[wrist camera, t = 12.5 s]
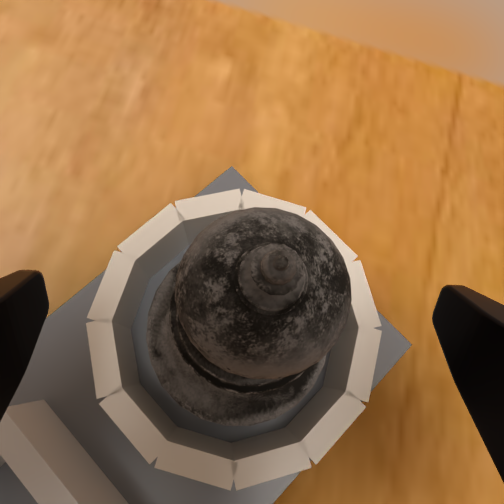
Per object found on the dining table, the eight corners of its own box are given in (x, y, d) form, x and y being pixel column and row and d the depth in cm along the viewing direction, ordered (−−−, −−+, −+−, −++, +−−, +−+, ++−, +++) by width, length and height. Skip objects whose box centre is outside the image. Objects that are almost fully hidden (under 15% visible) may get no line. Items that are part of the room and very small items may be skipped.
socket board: (6, 796, 13) (-81, 972, 9) (-183, 516, 14) (-321, 568, 11) (403, 345, 18) (452, 340, 14) (231, 174, 19) (234, 129, 15)
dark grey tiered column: (176, 254, 17) (94, 19, 5) (312, 276, 17) (510, 95, 6) (146, 402, 15) (-63, 510, 4) (297, 423, 16) (534, 585, 4)
